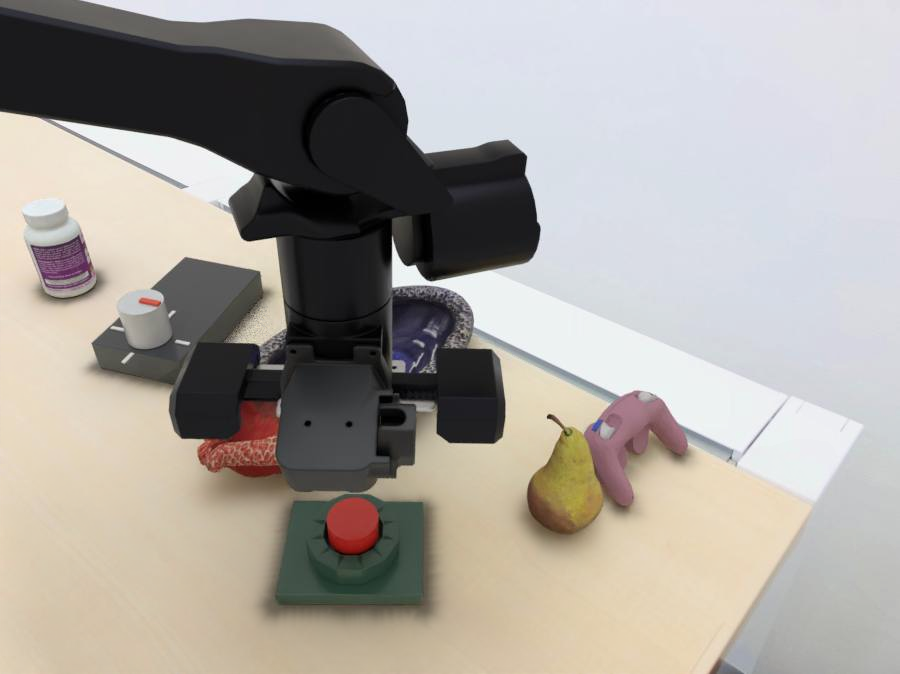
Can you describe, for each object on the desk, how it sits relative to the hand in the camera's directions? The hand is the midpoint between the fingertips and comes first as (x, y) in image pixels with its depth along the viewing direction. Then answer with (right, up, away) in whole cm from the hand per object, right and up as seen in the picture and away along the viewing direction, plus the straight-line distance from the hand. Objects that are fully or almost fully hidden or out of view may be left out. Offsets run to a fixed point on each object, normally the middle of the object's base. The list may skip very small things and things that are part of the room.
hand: (349, 483), depth 46 cm
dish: (-3, +4, +19) cm, 19 cm away
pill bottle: (-35, +15, +30) cm, 49 cm away
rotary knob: (-21, +10, +19) cm, 30 cm away
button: (0, -4, +3) cm, 5 cm away
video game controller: (+22, -1, +14) cm, 26 cm away
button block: (0, -6, +5) cm, 8 cm away
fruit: (+15, -5, +9) cm, 18 cm away
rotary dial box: (-20, +11, +25) cm, 34 cm away
